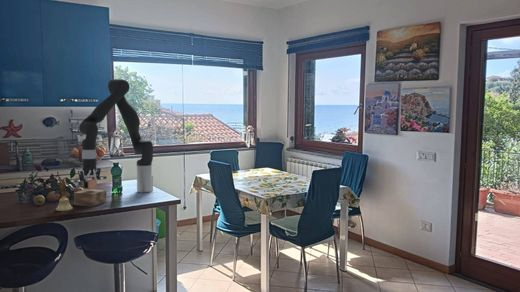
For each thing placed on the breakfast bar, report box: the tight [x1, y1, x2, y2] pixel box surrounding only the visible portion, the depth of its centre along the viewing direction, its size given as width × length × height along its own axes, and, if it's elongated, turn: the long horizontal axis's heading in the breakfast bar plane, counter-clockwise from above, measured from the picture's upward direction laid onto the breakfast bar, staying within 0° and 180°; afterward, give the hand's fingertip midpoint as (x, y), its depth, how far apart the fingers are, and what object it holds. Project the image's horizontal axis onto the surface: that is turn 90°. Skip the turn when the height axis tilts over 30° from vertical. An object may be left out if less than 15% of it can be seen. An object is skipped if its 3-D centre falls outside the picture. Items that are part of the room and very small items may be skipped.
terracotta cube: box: [82, 178, 98, 190], centre depth 234 cm, size 5×5×5 cm
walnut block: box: [73, 188, 107, 208], centre depth 234 cm, size 12×12×7 cm
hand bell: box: [55, 178, 74, 212], centre depth 220 cm, size 8×8×16 cm
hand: (90, 187), depth 234 cm, fingers closed on terracotta cube, 5 cm apart
